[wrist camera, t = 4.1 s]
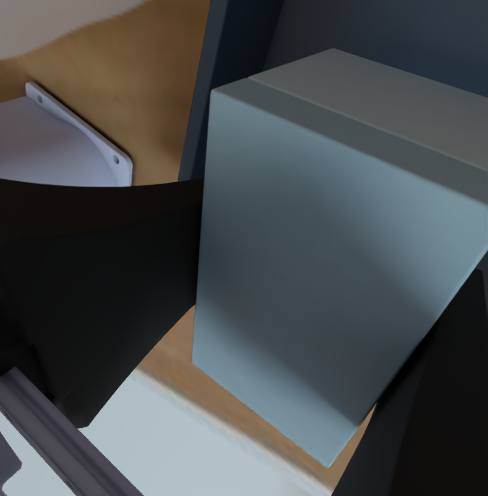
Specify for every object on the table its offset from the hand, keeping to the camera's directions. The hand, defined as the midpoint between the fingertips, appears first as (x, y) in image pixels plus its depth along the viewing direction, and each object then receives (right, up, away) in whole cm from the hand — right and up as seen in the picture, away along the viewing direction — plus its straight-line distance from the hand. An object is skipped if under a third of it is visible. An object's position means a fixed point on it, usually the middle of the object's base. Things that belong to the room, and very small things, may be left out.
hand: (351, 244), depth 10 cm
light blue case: (+1, +1, +1) cm, 1 cm away
